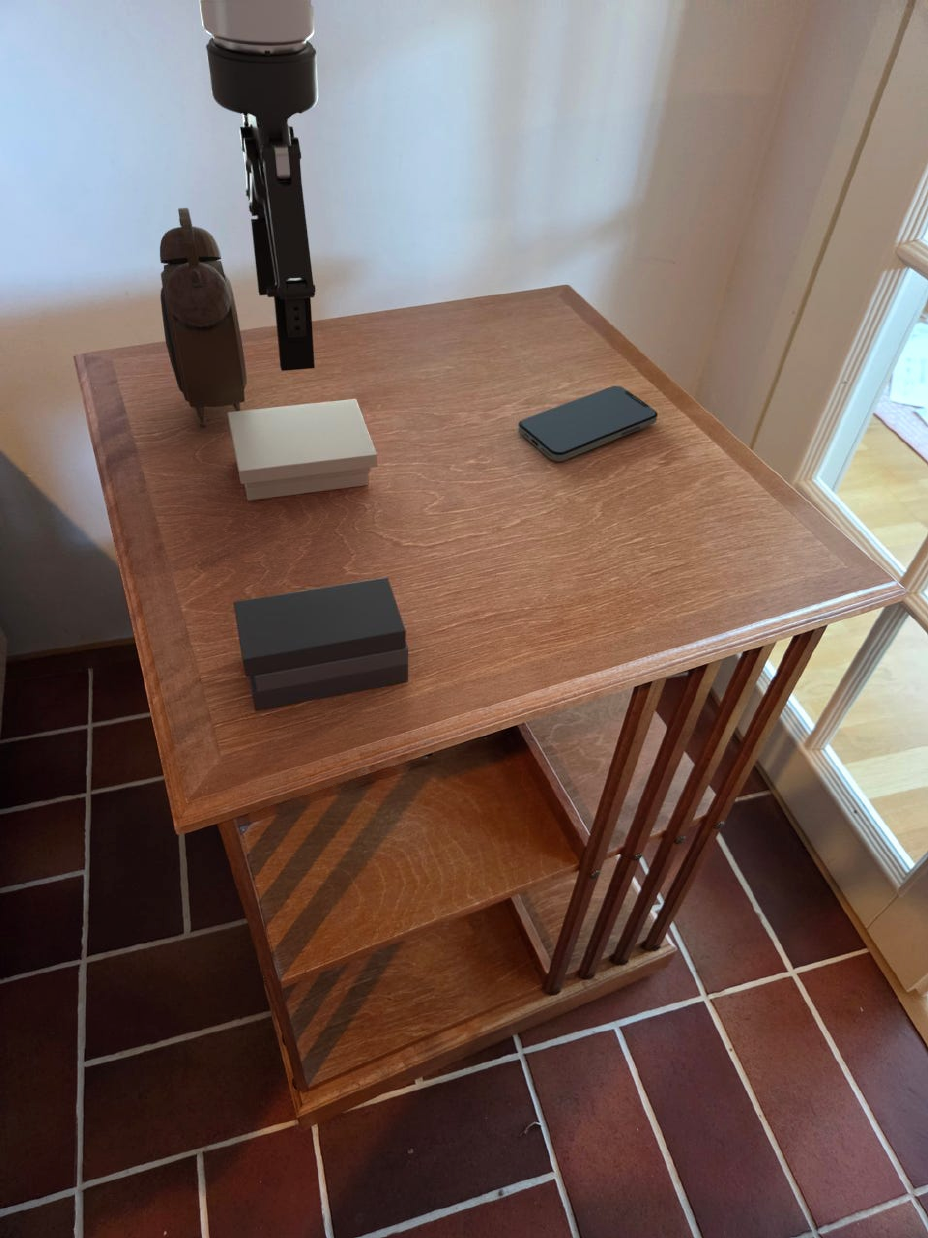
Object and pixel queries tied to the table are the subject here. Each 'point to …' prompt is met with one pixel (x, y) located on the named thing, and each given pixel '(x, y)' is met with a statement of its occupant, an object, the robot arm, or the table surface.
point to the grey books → (321, 642)
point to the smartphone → (587, 423)
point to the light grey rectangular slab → (300, 441)
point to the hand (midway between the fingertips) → (285, 328)
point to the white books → (307, 484)
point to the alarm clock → (200, 319)
